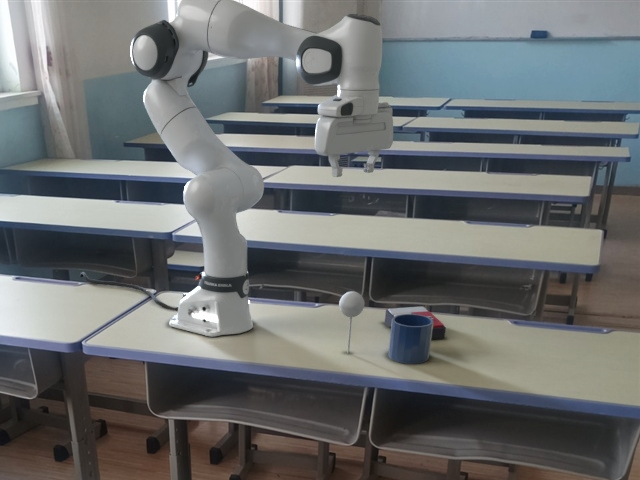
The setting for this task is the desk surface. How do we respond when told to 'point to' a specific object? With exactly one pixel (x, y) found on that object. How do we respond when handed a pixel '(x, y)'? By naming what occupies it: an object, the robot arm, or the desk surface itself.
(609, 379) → the desk surface
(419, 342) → the cup
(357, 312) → the lollipop
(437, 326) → the calculator
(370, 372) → the desk surface
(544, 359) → the desk surface
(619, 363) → the desk surface
